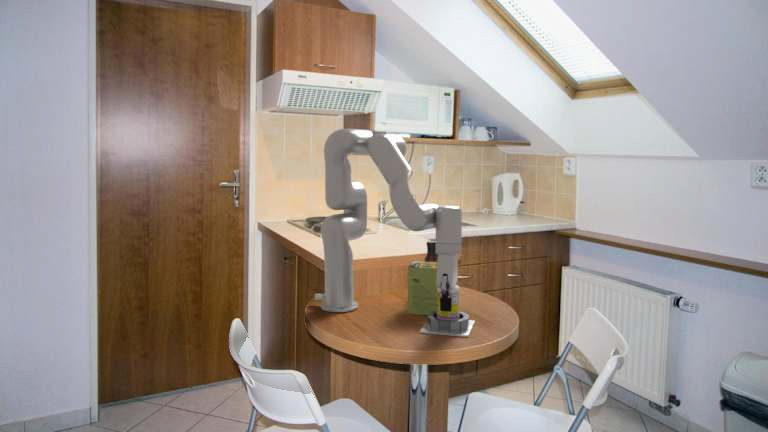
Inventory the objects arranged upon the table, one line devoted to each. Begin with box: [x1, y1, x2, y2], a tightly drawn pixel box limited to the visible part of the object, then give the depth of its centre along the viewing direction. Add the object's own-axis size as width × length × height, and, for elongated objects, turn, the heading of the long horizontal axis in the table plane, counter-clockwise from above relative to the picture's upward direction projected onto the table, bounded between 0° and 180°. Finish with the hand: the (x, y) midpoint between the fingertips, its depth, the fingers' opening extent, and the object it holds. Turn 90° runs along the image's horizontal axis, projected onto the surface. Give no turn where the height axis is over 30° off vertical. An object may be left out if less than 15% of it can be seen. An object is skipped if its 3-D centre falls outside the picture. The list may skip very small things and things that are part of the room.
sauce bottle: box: [424, 240, 438, 262], centre depth 199 cm, size 7×6×20 cm
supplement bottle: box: [437, 280, 461, 321], centre depth 162 cm, size 7×7×13 cm
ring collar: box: [419, 310, 476, 338], centre depth 162 cm, size 14×14×4 cm
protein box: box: [407, 261, 458, 316], centre depth 179 cm, size 10×15×16 cm
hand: (448, 306), depth 162 cm, fingers closed on supplement bottle, 6 cm apart
